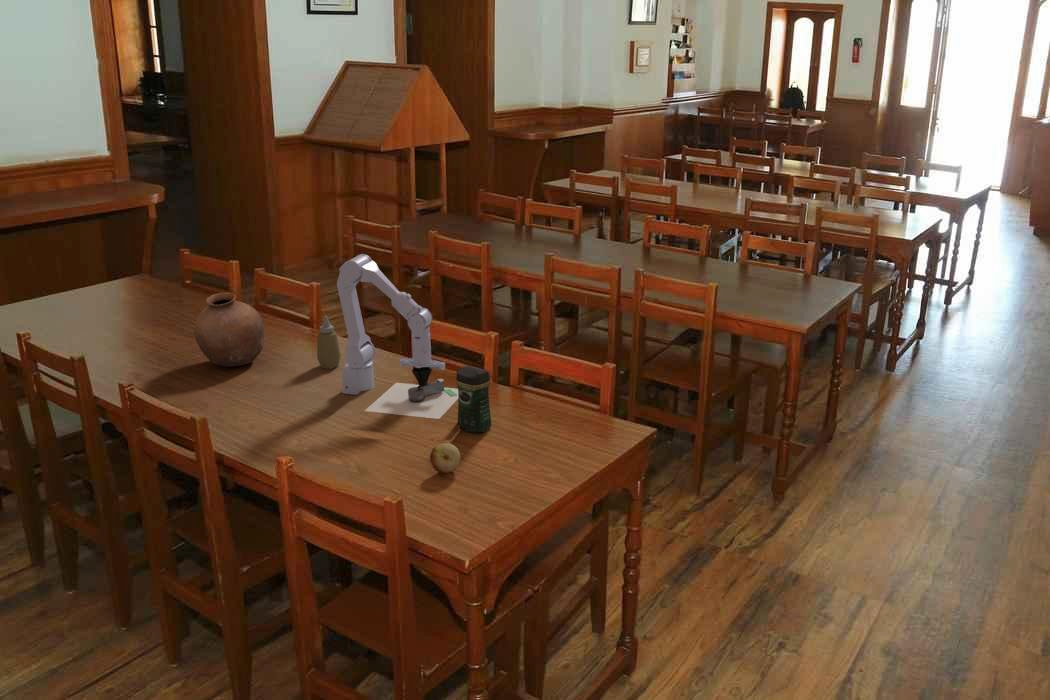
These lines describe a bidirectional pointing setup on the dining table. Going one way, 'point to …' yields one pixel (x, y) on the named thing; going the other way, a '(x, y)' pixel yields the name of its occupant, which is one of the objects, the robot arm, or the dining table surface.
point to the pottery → (229, 331)
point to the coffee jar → (473, 399)
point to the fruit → (445, 458)
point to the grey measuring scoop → (425, 390)
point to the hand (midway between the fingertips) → (423, 388)
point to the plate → (400, 405)
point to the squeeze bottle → (328, 346)
